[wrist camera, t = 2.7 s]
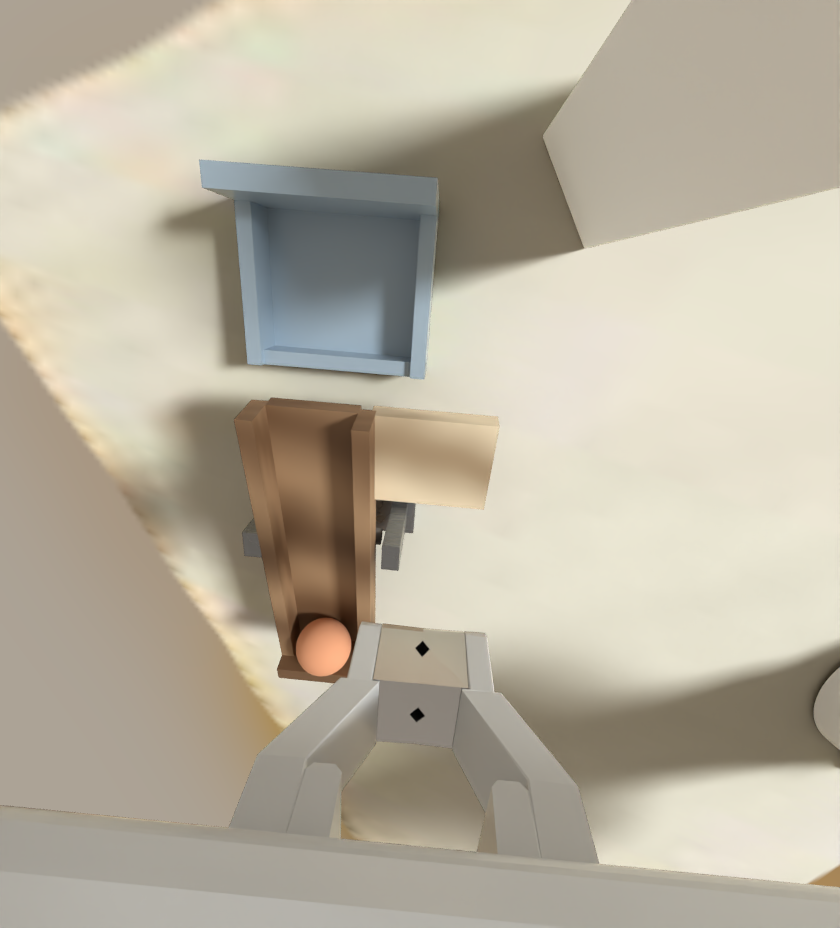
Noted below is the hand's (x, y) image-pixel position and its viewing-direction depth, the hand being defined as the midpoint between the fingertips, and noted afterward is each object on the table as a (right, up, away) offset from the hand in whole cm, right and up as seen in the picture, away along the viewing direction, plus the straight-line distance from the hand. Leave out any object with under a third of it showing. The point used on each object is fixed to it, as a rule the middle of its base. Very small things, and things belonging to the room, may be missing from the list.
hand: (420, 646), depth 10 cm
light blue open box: (-4, +15, +15) cm, 21 cm away
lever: (-3, 0, +17) cm, 17 cm away
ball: (-6, -7, +17) cm, 20 cm away
